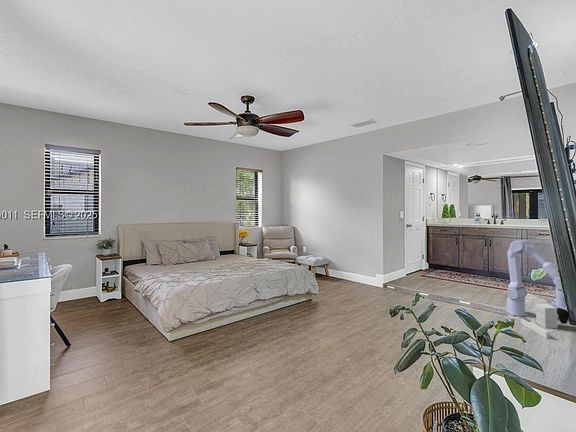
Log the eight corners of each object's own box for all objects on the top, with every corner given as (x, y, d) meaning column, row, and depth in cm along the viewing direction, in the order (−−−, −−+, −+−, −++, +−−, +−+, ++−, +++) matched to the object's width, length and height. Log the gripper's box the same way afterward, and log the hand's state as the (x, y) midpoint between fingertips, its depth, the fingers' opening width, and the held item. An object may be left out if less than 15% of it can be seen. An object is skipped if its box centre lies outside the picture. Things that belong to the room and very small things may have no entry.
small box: (557, 328, 155) (557, 308, 155) (545, 328, 156) (544, 308, 156) (547, 323, 163) (547, 303, 163) (536, 322, 164) (535, 303, 164)
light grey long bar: (520, 322, 165) (519, 316, 165) (523, 322, 165) (522, 316, 165) (546, 338, 144) (546, 331, 144) (550, 338, 144) (549, 331, 144)
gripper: (583, 301, 150) (583, 328, 151) (561, 293, 165) (562, 318, 165) (567, 301, 152) (567, 328, 152) (547, 293, 166) (547, 318, 166)
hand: (563, 323), depth 158 cm, fingers closed
